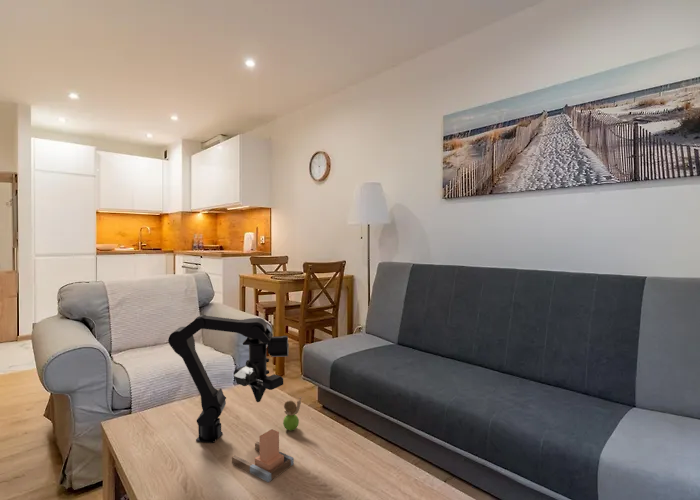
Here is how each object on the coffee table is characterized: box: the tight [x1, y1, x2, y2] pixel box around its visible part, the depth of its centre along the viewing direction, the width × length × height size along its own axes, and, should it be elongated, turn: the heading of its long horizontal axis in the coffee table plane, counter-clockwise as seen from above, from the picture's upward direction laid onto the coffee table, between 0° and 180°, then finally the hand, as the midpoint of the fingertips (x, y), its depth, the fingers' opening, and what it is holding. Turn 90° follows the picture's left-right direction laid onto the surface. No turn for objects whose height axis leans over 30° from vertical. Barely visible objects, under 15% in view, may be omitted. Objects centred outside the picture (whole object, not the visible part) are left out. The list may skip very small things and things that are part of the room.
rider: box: [254, 429, 284, 472], centre depth 120 cm, size 6×6×10 cm
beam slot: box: [231, 441, 295, 483], centre depth 122 cm, size 16×10×2 cm
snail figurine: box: [282, 396, 302, 431], centre depth 142 cm, size 5×6×12 cm
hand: (258, 401), depth 137 cm, fingers closed
